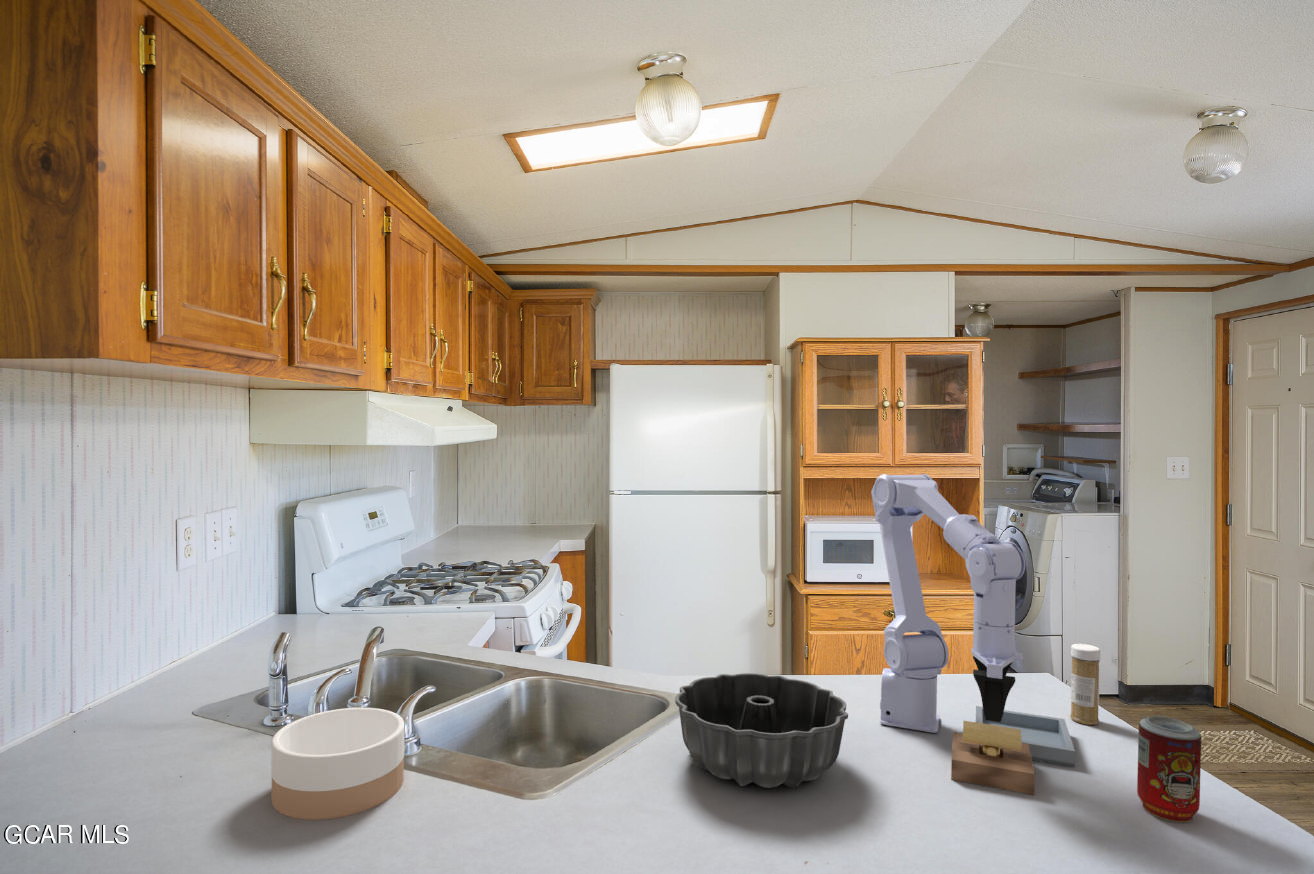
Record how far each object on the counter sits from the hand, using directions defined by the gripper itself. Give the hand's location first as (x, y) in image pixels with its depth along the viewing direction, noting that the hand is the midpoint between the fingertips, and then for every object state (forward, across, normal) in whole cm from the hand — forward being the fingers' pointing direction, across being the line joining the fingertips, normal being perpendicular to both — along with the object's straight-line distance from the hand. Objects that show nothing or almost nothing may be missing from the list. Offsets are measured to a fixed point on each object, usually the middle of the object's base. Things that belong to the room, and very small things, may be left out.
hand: (992, 711), depth 112 cm
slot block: (+9, 0, 0) cm, 9 cm away
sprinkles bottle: (+9, +29, -16) cm, 34 cm away
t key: (+9, 0, 0) cm, 9 cm away
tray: (+9, +14, -5) cm, 17 cm away
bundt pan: (+10, -12, +33) cm, 36 cm away
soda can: (+9, -3, -22) cm, 24 cm away
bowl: (+10, -45, +85) cm, 97 cm away
